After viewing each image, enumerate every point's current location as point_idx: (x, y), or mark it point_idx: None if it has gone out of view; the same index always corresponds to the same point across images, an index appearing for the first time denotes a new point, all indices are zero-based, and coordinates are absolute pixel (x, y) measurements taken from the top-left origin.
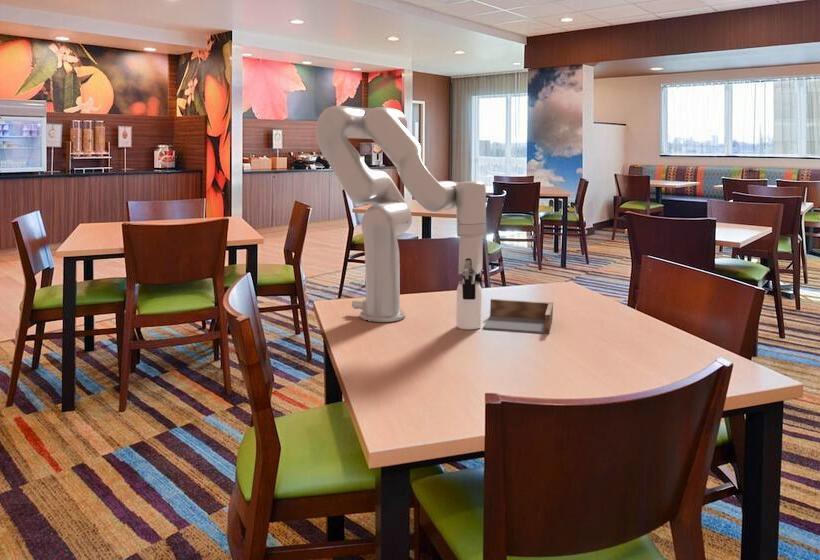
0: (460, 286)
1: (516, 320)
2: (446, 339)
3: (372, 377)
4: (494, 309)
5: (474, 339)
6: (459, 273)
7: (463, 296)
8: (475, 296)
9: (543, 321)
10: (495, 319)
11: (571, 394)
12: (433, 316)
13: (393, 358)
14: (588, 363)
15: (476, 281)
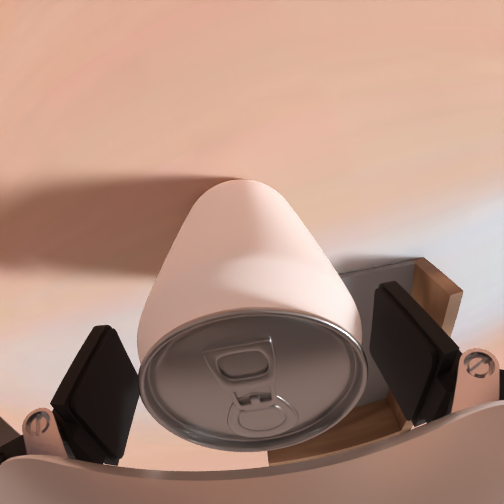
0: (151, 334)
1: (365, 353)
2: (49, 219)
3: None
4: (425, 290)
5: (100, 301)
6: (2, 464)
7: (91, 338)
8: (135, 396)
9: (365, 399)
10: (366, 298)
11: (21, 432)
12: (357, 33)
13: None
14: (121, 462)
15: (340, 417)
